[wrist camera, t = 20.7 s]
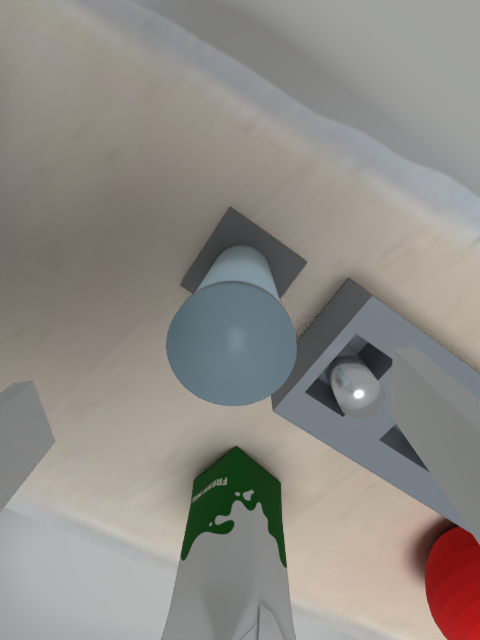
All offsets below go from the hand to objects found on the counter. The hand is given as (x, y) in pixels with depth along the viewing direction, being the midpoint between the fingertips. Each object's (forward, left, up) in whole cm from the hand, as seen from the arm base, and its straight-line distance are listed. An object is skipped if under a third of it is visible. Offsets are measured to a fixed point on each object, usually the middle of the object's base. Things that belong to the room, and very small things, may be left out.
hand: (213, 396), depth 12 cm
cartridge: (0, +1, -18) cm, 18 cm away
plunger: (+11, 0, -16) cm, 20 cm away
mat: (0, +1, -19) cm, 19 cm away
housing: (+20, 0, -19) cm, 27 cm away
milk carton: (+13, -19, -19) cm, 30 cm away
